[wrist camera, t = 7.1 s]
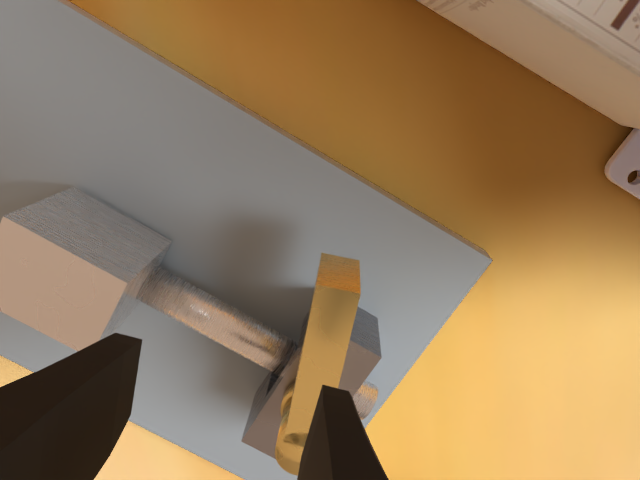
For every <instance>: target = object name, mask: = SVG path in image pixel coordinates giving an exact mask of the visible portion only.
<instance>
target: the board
mask: <svg viewBox="0 0 640 480" xmlns="http://www.w3.org/2000/svg"><path fill="white" fill-rule="evenodd" d="M71 187H76V188H78V189H80V190H81V191H83V192H85V193H87V194H89V195H90V196H92V197H94V198H96V199H97V200H99V201H101V202H103V203H105V204H106V205H108V206H110V207H112V208H114V209H115V210H117V211H119V212H121V213H123V214H124V215H126V216H128V217H130V218H132V219H133V220H135V221H137V222H139V223H141V224H142V225H144V226H146V227H148V228H150V229H151V230H153V231H155V232H157V233H159V234H160V235H162V236H164V237H166V238H168V239H169V240H171V241H172V242H171V244H170V246H169V248H168V250H167V252H166V254H165V256H164V258H163V260H162V262H161V264H160V266H159V267H161V268H163V269H164V270H166V271H168V272H170V273H172V274H173V275H175V276H177V277H179V278H181V279H183V280H184V281H186V282H188V283H190V284H192V285H194V286H195V287H197V288H199V289H201V290H203V291H204V292H206V293H208V294H210V295H212V296H214V297H215V298H217V299H219V300H221V301H223V302H225V303H226V304H228V305H230V306H232V307H234V308H235V309H237V310H239V311H241V312H243V313H245V314H246V315H248V316H250V317H252V318H254V319H256V320H257V321H259V322H261V323H263V324H265V325H266V326H268V327H270V328H272V329H274V330H276V331H277V332H279V333H281V334H283V335H285V336H286V337H288V338H290V339H292V340H294V341H296V342H297V343H299V339H300V334H301V329H302V324H303V319H304V318H305V316H306V315H307V313H308V312H309V310H310V306H311V301H312V297H313V292H314V287H315V282H316V277H317V272H318V268H319V263H320V258H321V253H326V254H331V255H336V256H341V257H346V258H351V259H356V260H360V287H361V295H360V299H359V303H358V307H360V308H361V309H363V310H365V311H367V312H368V313H370V314H372V315H374V316H375V317H377V318H378V326H379V336H380V346H381V356H382V358H381V359H380V361H379V362H378V363H377V365H376V366H375V367H374V369H373V370H372V372H371V373H370V374H369V376H368V377H367V378H366V380H367V381H369V382H370V383H372V384H374V385H376V386H377V387H378V396H377V399H376V402H375V404H374V407H373V408H372V410H371V412H370V413H369V415H368V416H367V417H366V418H365V419H363V420H361V422H362V424H363V426H364V429H365V427H366V426H367V425H368V423H369V422H370V421H371V420H372V418H373V417H374V416H375V414H376V413H377V412H378V410H379V409H380V408H381V406H382V405H383V404H384V402H385V401H386V400H387V399H388V397H389V396H390V395H391V393H392V392H393V391H394V389H395V388H396V387H397V385H398V384H399V383H400V381H401V380H402V379H403V378H404V376H405V375H406V374H407V372H408V371H409V370H410V368H411V367H412V366H413V364H414V363H415V362H416V360H417V359H418V358H419V357H420V355H421V354H422V353H423V351H424V350H425V349H426V347H427V346H428V345H429V343H430V342H431V341H432V339H433V338H434V337H435V335H436V334H437V333H438V332H439V330H440V329H441V328H442V326H443V325H444V324H445V322H446V321H447V320H448V318H449V317H450V316H451V314H452V313H453V312H454V311H455V309H456V308H457V307H458V305H459V304H460V303H461V301H462V300H463V299H464V297H465V296H466V295H467V293H468V292H469V291H470V290H471V288H472V287H473V286H474V284H475V283H476V282H477V280H478V279H479V278H480V276H481V275H482V274H483V272H484V271H485V270H486V269H487V267H488V266H489V265H490V263H491V262H492V261H493V260H492V259H491V257H490V256H489V255H488V253H487V252H486V251H485V250H483V249H481V248H480V247H478V246H476V245H475V244H473V243H471V242H470V241H468V240H466V239H465V238H463V237H461V236H460V235H458V234H456V233H455V232H453V231H451V230H450V229H448V228H446V227H445V226H443V225H441V224H440V223H438V222H436V221H435V220H433V219H431V218H430V217H428V216H426V215H425V214H423V213H421V212H420V211H418V210H416V209H415V208H413V207H411V206H410V205H408V204H406V203H405V202H403V201H401V200H400V199H398V198H396V197H395V196H393V195H391V194H390V193H388V192H386V191H385V190H383V189H381V188H380V187H378V186H376V185H375V184H373V183H371V182H370V181H368V180H366V179H365V178H363V177H361V176H360V175H358V174H356V173H355V172H353V171H351V170H350V169H348V168H346V167H345V166H343V165H341V164H340V163H338V162H336V161H335V160H333V159H331V158H330V157H328V156H326V155H325V154H323V153H321V152H320V151H318V150H316V149H315V148H313V147H311V146H310V145H308V144H306V143H305V142H303V141H301V140H300V139H298V138H296V137H295V136H293V135H291V134H290V133H288V132H286V131H285V130H283V129H281V128H280V127H278V126H276V125H275V124H273V123H271V122H270V121H268V120H266V119H265V118H263V117H261V116H260V115H258V114H256V113H255V112H253V111H251V110H250V109H248V108H246V107H245V106H243V105H241V104H240V103H238V102H236V101H235V100H233V99H231V98H230V97H228V96H226V95H225V94H223V93H221V92H220V91H218V90H216V89H215V88H213V87H211V86H210V85H208V84H206V83H204V82H203V81H201V80H199V79H198V78H196V77H194V76H193V75H191V74H189V73H188V72H186V71H184V70H183V69H181V68H179V67H178V66H176V65H174V64H173V63H171V62H169V61H168V60H166V59H164V58H163V57H161V56H159V55H158V54H156V53H154V52H153V51H151V50H149V49H148V48H146V47H144V46H143V45H141V44H139V43H138V42H136V41H134V40H133V39H131V38H129V37H128V36H126V35H124V34H123V33H121V32H119V31H118V30H116V29H114V28H113V27H111V26H109V25H108V24H106V23H104V22H103V21H101V20H99V19H98V18H96V17H94V16H93V15H91V14H89V13H88V12H86V11H84V10H83V9H81V8H79V7H78V6H76V5H74V4H73V3H71V2H69V1H68V0H0V223H1V220H2V218H3V216H5V215H7V214H10V213H12V212H14V211H17V210H19V209H21V208H24V207H26V206H29V205H31V204H33V203H36V202H38V201H41V200H43V199H45V198H48V197H50V196H52V195H55V194H57V193H60V192H62V191H64V190H67V189H69V188H71ZM114 333H119V334H123V335H127V336H131V337H135V338H139V339H142V346H141V352H140V359H139V365H138V372H137V378H136V385H135V391H134V398H133V404H132V411H131V415H130V417H129V419H128V420H129V421H131V422H133V423H135V424H137V425H139V426H141V427H143V428H145V429H147V430H149V431H151V432H152V433H154V434H156V435H158V436H160V437H162V438H164V439H166V440H168V441H170V442H172V443H174V444H176V445H178V446H180V447H182V448H184V449H186V450H188V451H190V452H192V453H194V454H196V455H198V456H200V457H202V458H204V459H206V460H208V461H210V462H212V463H214V464H215V465H217V466H219V467H221V468H223V469H225V470H227V471H229V472H231V473H233V474H235V475H237V476H239V477H241V478H243V479H245V480H297V478H298V476H297V475H293V474H290V473H288V472H286V471H285V470H284V469H282V468H281V467H280V465H279V464H278V463H277V461H276V459H274V458H272V457H270V456H268V455H267V454H265V453H263V452H261V451H259V450H257V449H255V448H253V447H251V446H249V445H247V444H245V443H243V442H241V439H242V436H243V433H244V429H245V426H246V423H247V419H248V416H249V413H250V409H251V406H252V403H253V400H254V396H255V393H256V391H257V390H258V388H259V387H260V385H261V384H262V382H263V381H264V379H265V378H266V376H267V375H268V373H269V370H267V369H265V368H263V367H262V366H260V365H258V364H256V363H254V362H252V361H250V360H249V359H247V358H245V357H243V356H241V355H239V354H237V353H236V352H234V351H232V350H230V349H228V348H226V347H224V346H223V345H221V344H219V343H217V342H215V341H213V340H211V339H210V338H208V337H206V336H204V335H202V334H200V333H198V332H197V331H195V330H193V329H191V328H189V327H187V326H185V325H184V324H182V323H180V322H178V321H176V320H174V319H172V318H171V317H169V316H167V315H165V314H163V313H161V312H159V311H157V310H156V309H154V308H152V307H150V306H148V305H146V304H144V303H143V302H140V304H139V305H138V306H137V307H136V308H135V309H134V310H133V311H132V313H131V314H130V315H129V316H128V317H127V318H126V319H125V320H124V321H123V322H122V324H121V325H120V326H119V327H118V328H117V329H116V330H115V331H114V332H113V333H112V334H114ZM76 352H78V351H76V350H74V349H72V348H70V347H68V346H66V345H64V344H63V343H61V342H59V341H57V340H55V339H53V338H51V337H49V336H47V335H45V334H43V333H41V332H39V331H37V330H35V329H34V328H32V327H30V326H28V325H26V324H24V323H22V322H20V321H18V320H16V319H14V318H12V317H10V316H8V315H7V314H5V313H3V312H1V311H0V355H1V356H3V357H5V358H7V359H9V360H11V361H13V362H15V363H17V364H19V365H21V366H23V367H24V368H26V369H28V370H30V371H32V372H34V373H35V372H37V371H39V370H41V369H43V368H45V367H47V366H49V365H51V364H53V363H55V362H57V361H60V360H62V359H64V358H66V357H68V356H70V355H72V354H74V353H76Z"/></svg>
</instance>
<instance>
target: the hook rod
mask: <svg viewBox="0 0 640 480" xmlns="http://www.w3.org/2000/svg"><path fill="white" fill-rule="evenodd" d="M171 242H172V241H171V240H169V239H168V238H166V237H164V236H162V235H160V234H159V233H157V232H155V231H153V230H151V229H150V228H148V227H146V226H144V225H142V224H141V223H139V222H137V221H135V220H133V219H132V218H130V217H128V216H126V215H124V214H123V213H121V212H119V211H117V210H115V209H114V208H112V207H110V206H108V205H106V204H105V203H103V202H101V201H99V200H97V199H96V198H94V197H92V196H90V195H89V194H87V193H85V192H83V191H81V190H80V189H78V188H76V187H71V188H69V189H67V190H64V191H62V192H60V193H57V194H55V195H52V196H50V197H48V198H45V199H43V200H41V201H38V202H36V203H33V204H31V205H29V206H26V207H24V208H21V209H19V210H17V211H14V212H12V213H10V214H7V215H5V216H3V218H2V220H1V223H0V311H1V312H3V313H5V314H7V315H8V316H10V317H12V318H14V319H16V320H18V321H20V322H22V323H24V324H26V325H28V326H30V327H32V328H34V329H35V330H37V331H39V332H41V333H43V334H45V335H47V336H49V337H51V338H53V339H55V340H57V341H59V342H61V343H63V344H64V345H66V346H68V347H70V348H72V349H74V350H76V351H80V350H82V349H84V348H86V347H88V346H90V345H91V344H93V343H95V342H97V341H99V340H101V339H103V338H105V337H107V336H109V335H112V333H113V332H114V331H115V330H116V329H117V328H118V327H119V326H120V325H121V324H122V322H123V321H124V320H125V319H126V318H127V317H128V316H129V315H130V314H131V313H132V311H133V310H134V309H135V308H136V307H137V306H138V305H139V304H140V302H143V303H144V304H146V305H148V306H150V307H152V308H154V309H156V310H157V311H159V312H161V313H163V314H165V315H167V316H169V317H171V318H172V319H174V320H176V321H178V322H180V323H182V324H184V325H185V326H187V327H189V328H191V329H193V330H195V331H197V332H198V333H200V334H202V335H204V336H206V337H208V338H210V339H211V340H213V341H215V342H217V343H219V344H221V345H223V346H224V347H226V348H228V349H230V350H232V351H234V352H236V353H237V354H239V355H241V356H243V357H245V358H247V359H249V360H250V361H252V362H254V363H256V364H258V365H260V366H262V367H263V368H265V369H267V370H269V371H271V372H273V373H275V374H276V375H278V376H280V374H281V373H282V371H283V370H284V368H285V367H286V365H287V364H288V362H289V361H290V359H291V358H292V356H293V355H294V353H295V352H296V350H297V349H298V344H299V343H297V342H296V341H294V340H292V339H290V338H288V337H286V336H285V335H283V334H281V333H279V332H277V331H276V330H274V329H272V328H270V327H268V326H266V325H265V324H263V323H261V322H259V321H257V320H256V319H254V318H252V317H250V316H248V315H246V314H245V313H243V312H241V311H239V310H237V309H235V308H234V307H232V306H230V305H228V304H226V303H225V302H223V301H221V300H219V299H217V298H215V297H214V296H212V295H210V294H208V293H206V292H204V291H203V290H201V289H199V288H197V287H195V286H194V285H192V284H190V283H188V282H186V281H184V280H183V279H181V278H179V277H177V276H175V275H173V274H172V273H170V272H168V271H166V270H164V269H163V268H161V267H159V266H160V264H161V262H162V260H163V258H164V256H165V254H166V252H167V250H168V248H169V246H170V244H171ZM377 396H378V387H377V386H376V385H374V384H372V383H370V382H369V381H367V380H365V381H364V382H363V384H362V385H361V387H360V388H359V389H358V391H357V392H356V393H355V395H354V396H353V400H354V403H355V406H356V409H357V411H358V414H359V416H360V419H361V420H363V419H365V418H366V417H367V416H368V415H369V413H370V412H371V410H372V408H373V407H374V404H375V402H376V399H377Z"/></svg>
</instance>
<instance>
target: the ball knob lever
mask: <svg viewBox="0 0 640 480" xmlns="http://www.w3.org/2000/svg"><path fill="white" fill-rule="evenodd" d="M360 295H361V287H360V260H356V259H351V258H346V257H341V256H336V255H331V254H326V253H321V258H320V263H319V268H318V272H317V277H316V282H315V287H314V292H313V297H312V301H311V306H310V311H309V316H308V321H307V326H306V330H305V335H304V340H303V345H302V350H301V355H300V359H299V364H298V369H297V374H296V379H295V383H294V384H292V385H291V386H290V387H288V388H287V390H286V391H285V393H284V395H283V398H282V403H281V409H280V413H281V417H282V418H281V423H280V428H279V433H278V438H277V442H276V447H275V458H276V461H277V463H278V464H279V465H280V467H281V468H282V469H284V470H285V471H286V472H288V473H290V474H293V475H297V476H298V472H299V466H300V461H301V456H302V452H303V449H304V445H305V442H306V439H307V435H308V432H309V428H310V425H311V422H312V418H313V415H314V412H315V408H316V405H317V401H318V398H319V395H320V391H321V388H322V385H326V386H330V387H334V388H338V386H339V382H340V378H341V374H342V370H343V365H344V361H345V357H346V353H347V349H348V345H349V340H350V336H351V332H352V328H353V324H354V320H355V315H356V311H357V307H358V303H359V299H360Z"/></svg>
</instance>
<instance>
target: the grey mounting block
mask: <svg viewBox="0 0 640 480" xmlns="http://www.w3.org/2000/svg"><path fill="white" fill-rule="evenodd" d="M309 311H310V310H309ZM308 316H309V312H308V313H307V315H306V316H305V318H304V319H303V324H302V329H301V334H300V339H299V344H298V349H297V350H296V352H295V353H294V355H293V356H292V358H291V359H290V361H289V362H288V364H287V365H286V367H285V368H284V370H283V371H282V373H281V374H280V376H278V375H276V374H275V373H273V372H271V371H269V373H268V375H267V376H266V378H265V379H264V381H263V382H262V384H261V385H260V387H259V388H258V390H257V391H256V393H255V396H254V400H253V403H252V406H251V409H250V413H249V416H248V419H247V423H246V426H245V429H244V433H243V436H242V439H241V442H243V443H245V444H247V445H249V446H251V447H253V448H255V449H257V450H259V451H261V452H263V453H265V454H267V455H268V456H270V457H272V458H274V459H276V458H275V447H276V442H277V438H278V433H279V428H280V423H281V418H282V417H281V413H280V409H281V403H282V398H283V395H284V393H285V391H286V390H287V388H288V387H290V386H291V385H292V384H294V383H295V379H296V374H297V369H298V364H299V359H300V355H301V350H302V345H303V340H304V335H305V330H306V326H307V321H308ZM381 358H382V356H381V346H380V336H379V326H378V318H377V317H375V316H374V315H372V314H370V313H368V312H367V311H365V310H363V309H361V308H360V307H357V311H356V315H355V320H354V324H353V328H352V332H351V336H350V340H349V345H348V349H347V353H346V357H345V361H344V365H343V370H342V374H341V378H340V382H339V386H338V389H342V390H346V391H349V392H350V394H351V395H352V397H353V396H354V395H355V393H356V392H357V391H358V389H359V388H360V387H361V385H362V384H363V382H364V381H365V380H366V378H367V377H368V376H369V374H370V373H371V372H372V370H373V369H374V367H375V366H376V365H377V363H378V362H379V361H380V359H381Z"/></svg>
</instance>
